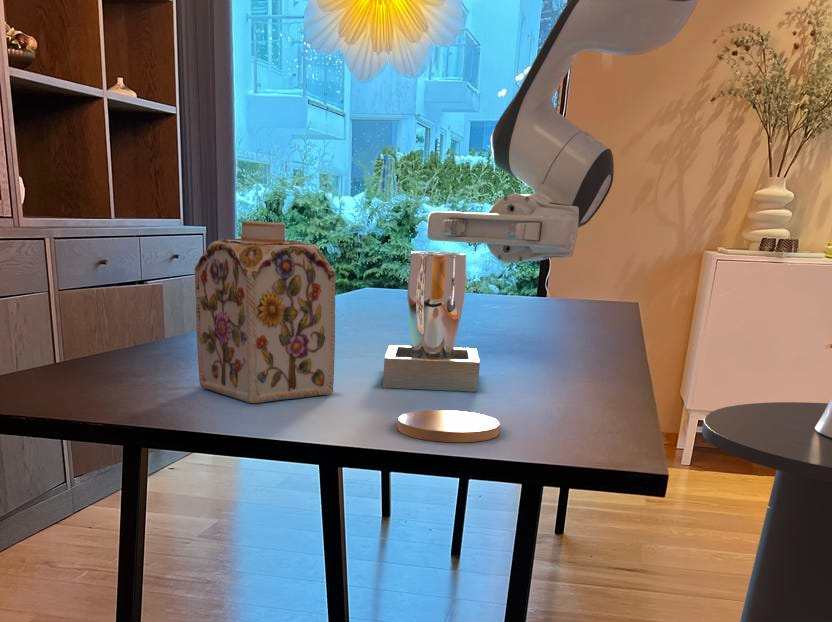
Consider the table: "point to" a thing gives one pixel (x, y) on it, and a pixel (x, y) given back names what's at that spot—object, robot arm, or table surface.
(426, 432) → the disc
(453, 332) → the beer glass
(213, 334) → the decorative jar
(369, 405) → the table surface
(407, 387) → the box
